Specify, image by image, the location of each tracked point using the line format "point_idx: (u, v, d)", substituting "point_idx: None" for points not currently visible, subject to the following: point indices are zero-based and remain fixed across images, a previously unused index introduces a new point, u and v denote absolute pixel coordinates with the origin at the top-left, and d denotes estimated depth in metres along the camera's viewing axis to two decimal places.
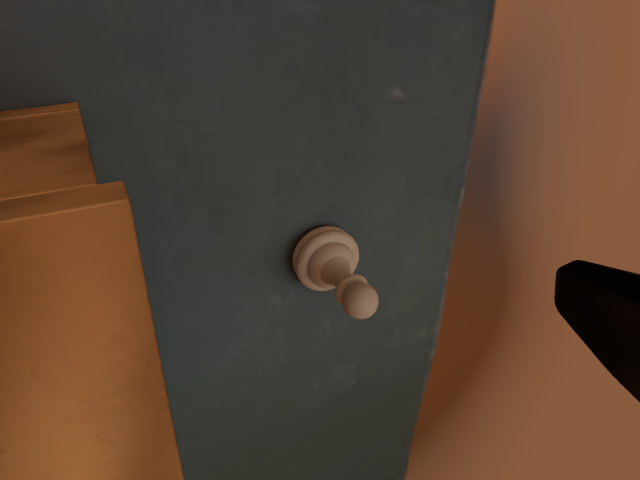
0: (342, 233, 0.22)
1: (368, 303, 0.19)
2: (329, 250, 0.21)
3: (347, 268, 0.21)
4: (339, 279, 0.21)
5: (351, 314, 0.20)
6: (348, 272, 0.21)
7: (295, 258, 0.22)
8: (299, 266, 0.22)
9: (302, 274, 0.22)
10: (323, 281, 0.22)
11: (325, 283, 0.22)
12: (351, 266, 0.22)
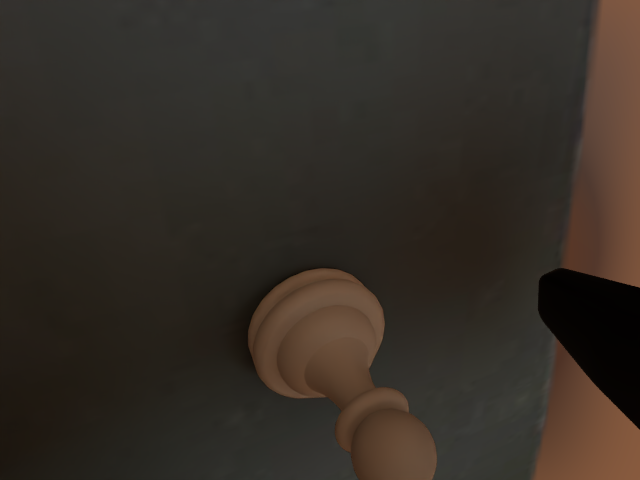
0: (340, 285, 0.10)
1: (412, 473, 0.08)
2: (314, 330, 0.10)
3: (359, 364, 0.10)
4: (343, 397, 0.09)
5: None
6: (361, 375, 0.10)
7: (253, 346, 0.11)
8: (259, 367, 0.10)
9: (270, 379, 0.10)
10: (314, 391, 0.10)
11: (320, 393, 0.10)
12: (369, 349, 0.10)
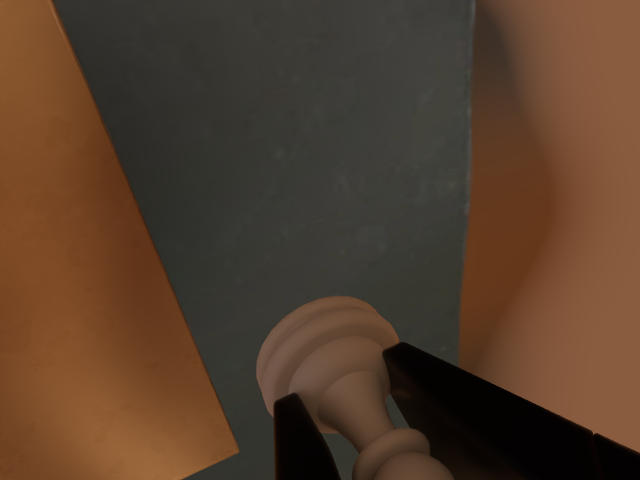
0: (354, 314, 0.10)
1: None
2: (328, 365, 0.09)
3: (376, 400, 0.09)
4: (359, 437, 0.09)
5: None
6: (379, 413, 0.09)
7: (262, 378, 0.10)
8: (269, 403, 0.10)
9: None
10: (327, 427, 0.10)
11: (333, 429, 0.10)
12: (386, 383, 0.10)
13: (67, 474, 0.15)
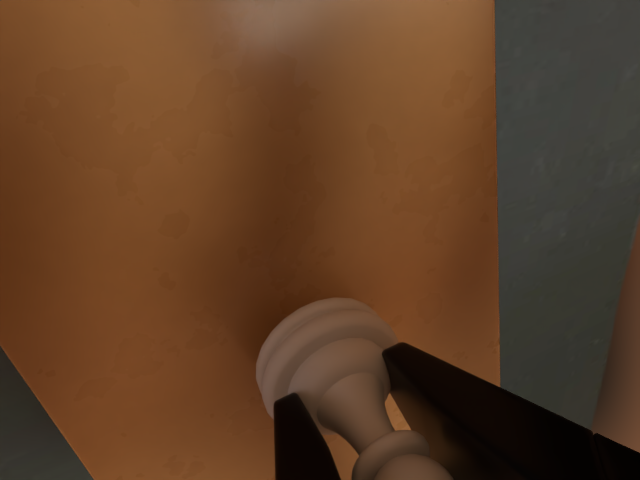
0: (354, 316, 0.10)
1: None
2: (327, 366, 0.09)
3: (375, 402, 0.09)
4: (359, 439, 0.09)
5: None
6: (378, 415, 0.09)
7: (261, 380, 0.10)
8: (268, 404, 0.10)
9: None
10: (327, 429, 0.10)
11: (333, 431, 0.10)
12: (385, 384, 0.10)
13: None
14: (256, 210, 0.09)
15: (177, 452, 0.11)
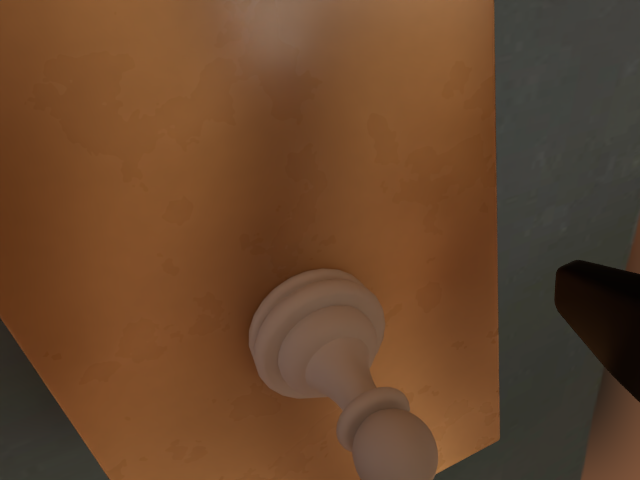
0: (340, 285, 0.10)
1: (413, 472, 0.08)
2: (315, 330, 0.10)
3: (360, 363, 0.10)
4: (344, 397, 0.09)
5: None
6: (362, 375, 0.10)
7: (254, 346, 0.11)
8: (261, 368, 0.10)
9: (271, 380, 0.10)
10: (315, 391, 0.10)
11: (321, 393, 0.10)
12: (370, 349, 0.10)
13: None
14: (258, 198, 0.10)
15: (180, 437, 0.11)
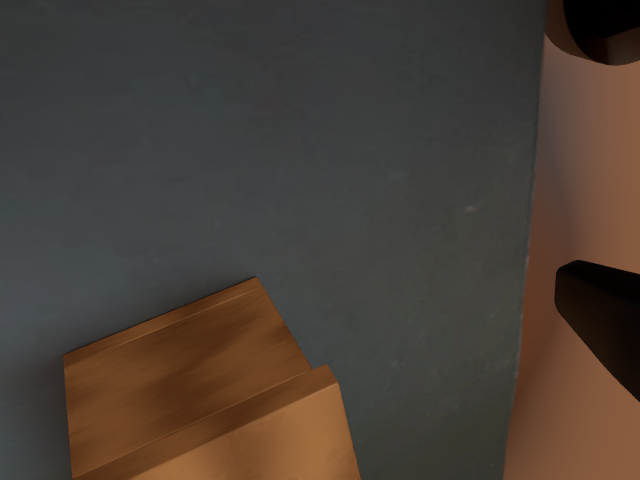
0: None
1: None
2: None
3: None
4: None
5: None
6: None
7: None
8: None
9: None
10: None
11: None
12: None
13: None
14: None
15: None
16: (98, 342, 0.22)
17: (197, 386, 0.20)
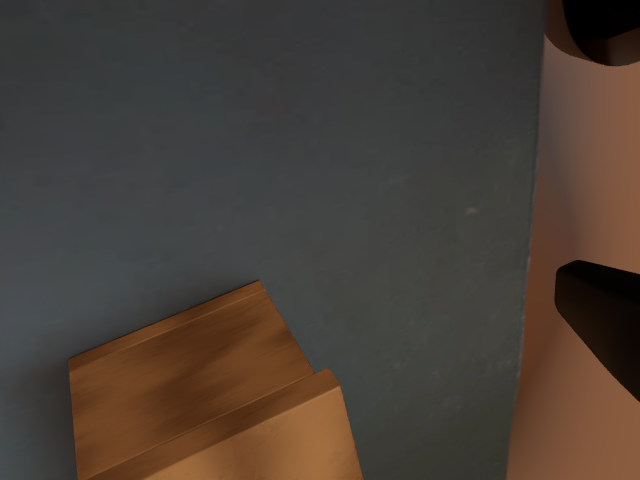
0: None
1: None
2: None
3: None
4: None
5: None
6: None
7: None
8: None
9: None
10: None
11: None
12: None
13: None
14: None
15: None
16: (102, 346, 0.23)
17: (201, 390, 0.20)
